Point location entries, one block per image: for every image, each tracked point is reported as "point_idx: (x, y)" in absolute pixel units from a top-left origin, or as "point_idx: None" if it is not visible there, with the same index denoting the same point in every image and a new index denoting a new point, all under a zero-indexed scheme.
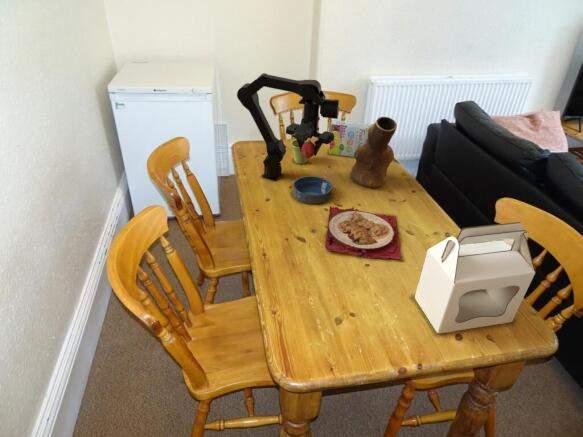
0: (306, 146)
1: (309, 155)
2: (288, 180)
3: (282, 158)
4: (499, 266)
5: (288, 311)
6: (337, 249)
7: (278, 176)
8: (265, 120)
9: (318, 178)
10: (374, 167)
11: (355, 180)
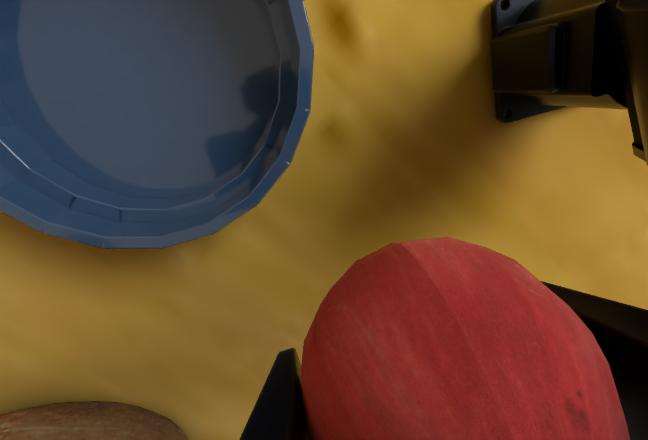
0: (497, 388)
1: (335, 287)
2: (420, 94)
3: (644, 12)
4: None
5: None
6: None
7: (499, 39)
8: None
9: (207, 219)
10: None
11: (78, 414)
